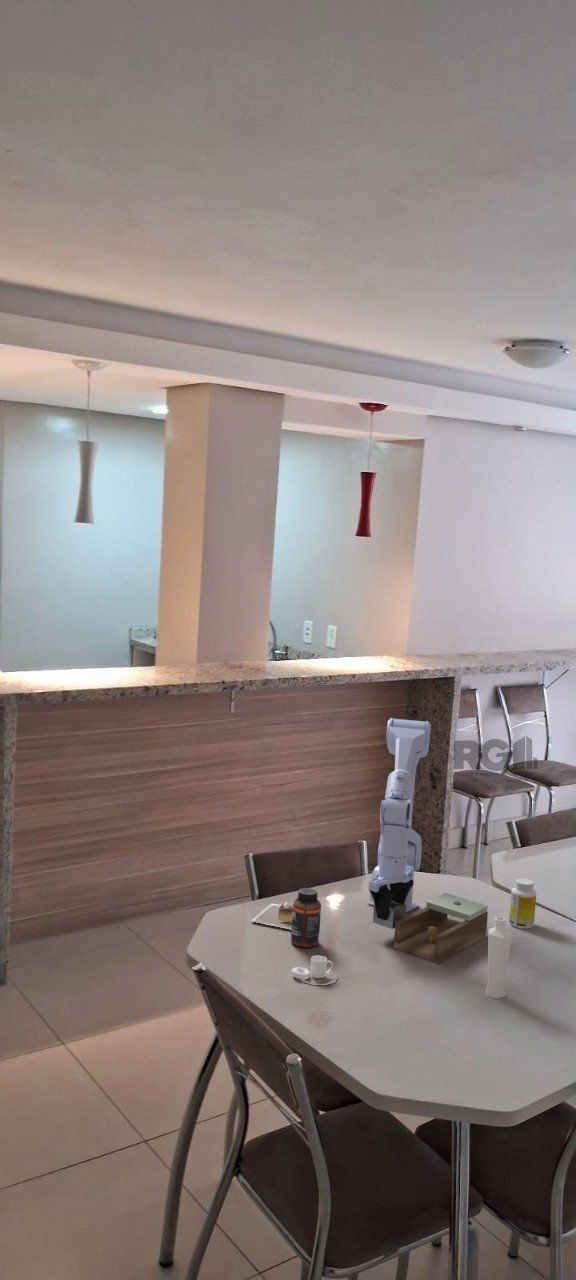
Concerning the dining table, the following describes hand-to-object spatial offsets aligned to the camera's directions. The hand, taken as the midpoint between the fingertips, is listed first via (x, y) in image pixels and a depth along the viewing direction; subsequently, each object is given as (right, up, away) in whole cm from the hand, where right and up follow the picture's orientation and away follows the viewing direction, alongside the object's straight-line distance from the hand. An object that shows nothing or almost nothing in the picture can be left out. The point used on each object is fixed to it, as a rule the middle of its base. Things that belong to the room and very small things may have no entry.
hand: (389, 915), depth 215 cm
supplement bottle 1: (-18, -5, -4) cm, 19 cm away
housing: (+11, -6, 0) cm, 13 cm away
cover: (+15, 0, +4) cm, 16 cm away
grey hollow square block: (0, -2, 0) cm, 2 cm away
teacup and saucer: (-18, -7, -17) cm, 26 cm away
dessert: (-22, -4, +8) cm, 24 cm away
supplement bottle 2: (+31, -6, +12) cm, 34 cm away
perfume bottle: (+18, -9, -23) cm, 30 cm away
